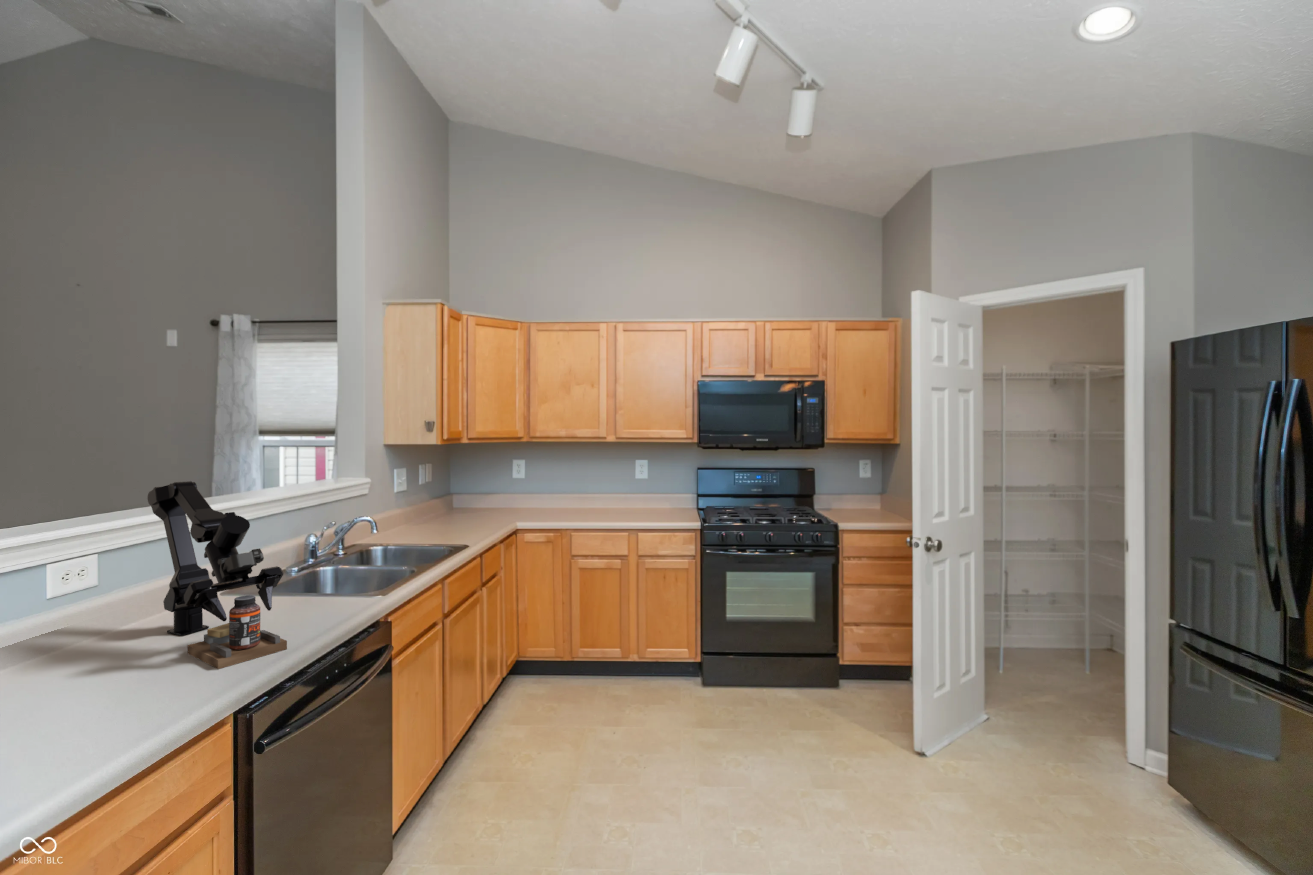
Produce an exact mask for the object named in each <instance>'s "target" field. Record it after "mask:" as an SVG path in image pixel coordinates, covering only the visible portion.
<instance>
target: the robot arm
mask: <svg viewBox="0 0 1313 875" xmlns="http://www.w3.org/2000/svg"><path fill="white" fill-rule="evenodd" d="M197 486H198V485H197V483H196V482H195V481H191V480H190V481H187V480H186V481H174V482H172V483H170V484H167V485H162V486H155V487H153V489H152V490H150V491H148V492H147V493H148V494H147V502H148V504H149V505H150V506H151V510H152V513H153V515H155V516H156V517H158V518H159V519H160V520H162V521H163V526H164V530H165V534H166V538H167V543H168V548H169V552H170V556H171V561H172V565H173V571H174V573H173V576H172V578H171V580H170V583H169V584H168V588H169V589H168V591H167V593H166V595H165V597H164V599H163V608H164V610H165V611H168V612H170V613H173V628H172V629H166V633H168V634H172V635H176V636H186V635H189V634H192V633H196V632H200V631H204V630H207V629H210V626H209V625H206V624H203V623H204V621H203V620H204V619H203V618H204V616H203V610H205V611H206V612H209V613H211V615H213V616H215V617H216V618H217V619H219V620H221V621H222V622H226V621H227V619H228V617H227V614H226V611H225V610H224V607H223V605H222V602H221V601H220V599H219V595H218V593H221V592H224V591H225V592H226V591H231V590H236V589H241V588H242V589H243V588H246V587H250V586H255V587H256V588H257V590H258V591H257V593H258V596H259V597H260V599H261V601H262V603H263V605H264V607H265V608H266V610H267V612H268V611H272V607H273V589H274V588H276V587H277V585H278V584H279V583H280V581H281V579H282V577H284V571H283V569H282V568H281V567H280V566H278V565H276V566H271V567H266V568H261V569H260V572H259V573H258V574H257V575H254V576H249V575H250V574H252V572H253V567H254V566H257V565H258V564H260V563H262V562H263V561H264V559H265V558H264V553H263V551H262V550H261V548H254V549H251V550H249V552H243V553H239V552H238V549H237V548H238V547H239V546H240V545H241V544H242V542H243V540H244V539H245V537H246V535H247V533H248V531H249V529H250V527H251V524H250V521H249V520H248V519H246V518H245V517H244V516H240V515H237V514H236V512H235V511H229V512H224V513H223V512H221V511H218V510H214V509H213V508H212V507H211V506H210V504H209V503H208V501H207V500H206V499H205V497H204V496H203V495H202V493H201V492H200V491H199V490H198V487H197ZM187 517H188V518H187ZM188 519H189V520H190V522H191V526H190V527H189V524H188ZM192 539H193V540H194V541H195V542H196V543H199V544H201V543H207V544H206V546H205V547H204V554H203V558H204V559H208V561H209V563H210V566H211V569H212V571H211V576H212V578H213V577H215V578H216V581H217V583H214V581H213V579H212V578H210V574H209V570H208V569H207V568H202V567H201V566H199V565H198V561H197V558H196V557H197V556H196V553H195V550H194V549H195V548H194V545H193V541H192Z"/></svg>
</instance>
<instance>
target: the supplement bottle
mask: <svg viewBox="0 0 1313 875" xmlns="http://www.w3.org/2000/svg"><path fill="white" fill-rule="evenodd" d="M233 605H234V606H232V607H231V608H230V610H229V612H228V614H229V615H228V616H229V617H228V619H229V620H228V623H229V647H230V649H233V650H243V649H249V648H252V647H255V646H257V645H258V644H259V643H260V630H261V606H260V605H259V604H257V600H256V595H254V594H249V595H241V596H240V595H239V596H236V597H235V598H234V602H233Z"/></svg>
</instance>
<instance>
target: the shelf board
mask: <svg viewBox="0 0 1313 875" xmlns="http://www.w3.org/2000/svg"><path fill="white" fill-rule="evenodd" d="M206 630H207V632H206V633H205V634H203V641H198V642H195V643H191V644H187V645H186V646H187V654H188V655H189V656H191V657H194V658H195V659H197V660H199V661H201V662H203V663H205V664H207V665H209V666H211V667H212V668H215V669H217V670H220V669H224V668H227V667H231V666H235V665H238V664H241V663H245V662H247V661H251V660H255V659H258V658H262V657H265V656H267V655H268V656H269V655H272V654H275V653H278V652H282V651H285V650H288V641H287V640H286V639H284V638H281V636H280V635H279V634H275V633H273V632H270V631H268V630H265V629H260V643H259V644H258V645H257V646H255V647H252V648H249V649H243V650H233V649H230V647H229V622H228V623H225V624H221V625H218V626H214V627H209V628H207V629H206Z"/></svg>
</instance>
